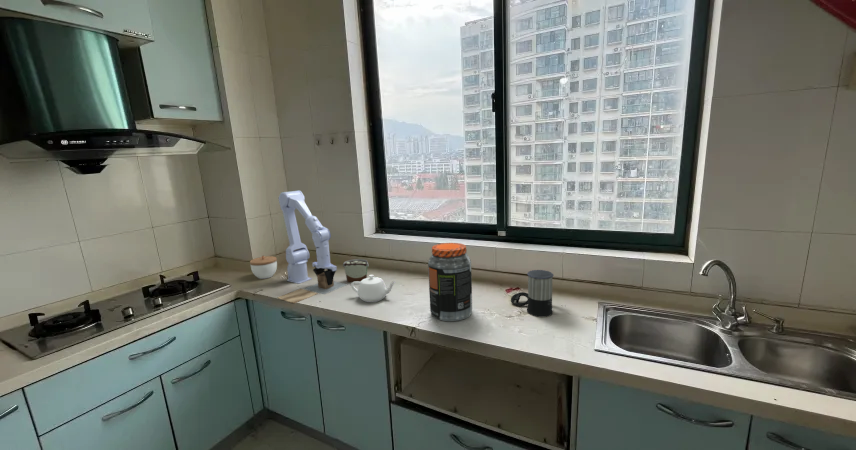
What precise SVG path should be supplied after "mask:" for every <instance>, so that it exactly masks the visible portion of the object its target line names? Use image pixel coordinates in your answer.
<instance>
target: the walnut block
mask: <svg viewBox="0 0 856 450" xmlns="http://www.w3.org/2000/svg"><path fill="white" fill-rule="evenodd" d="M316 278H317V284H318V287H319V288H323V289H327V288H330V287H332V286H334V279H333V282H332V284H331V285H328V284H327V279H326V275H325V273H321V274H318V275H316Z"/></svg>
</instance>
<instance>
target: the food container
mask: <svg viewBox="0 0 856 450" xmlns="http://www.w3.org/2000/svg"><path fill="white" fill-rule="evenodd" d="M342 267H344V273H345V277H346V278H345V279H346V282H347V283H352V282H356V281H357V282H360V281H362V280H363V279H365V278H368V267H369V262H368V260H366V259H360V258H355V259H354V258H353V259H349V260H346V261H344V262H343V265H342Z"/></svg>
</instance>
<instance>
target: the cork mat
mask: <svg viewBox="0 0 856 450" xmlns="http://www.w3.org/2000/svg"><path fill="white" fill-rule="evenodd" d="M318 294H319V293H317V292H314V291H310V290H306V289H305V288H304V289H303V288H299V289H296V290H293V291H291V292H288V293H285V294H283V295H281V296H277V300H282V301H285V302H288V303H291V304H294V305H295V304H297V303H299V302H302V301H304V300H306V299H309V298H311V297H313V296H317V295H318Z"/></svg>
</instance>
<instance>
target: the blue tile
mask: <svg viewBox="0 0 856 450" xmlns="http://www.w3.org/2000/svg"><path fill="white" fill-rule="evenodd" d="M345 286H348V284H347V283H344V282H339V281H334V286H332V287H330V288H327V289H323V288H319V287H318V283H315V284H313V285H310V286H308V287H305V288H304V290H307V291H311V292H315V293H318V294H322V295H326V294H329V293H331V292H333V291H335V290H338V289H340V288H344V287H345Z"/></svg>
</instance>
